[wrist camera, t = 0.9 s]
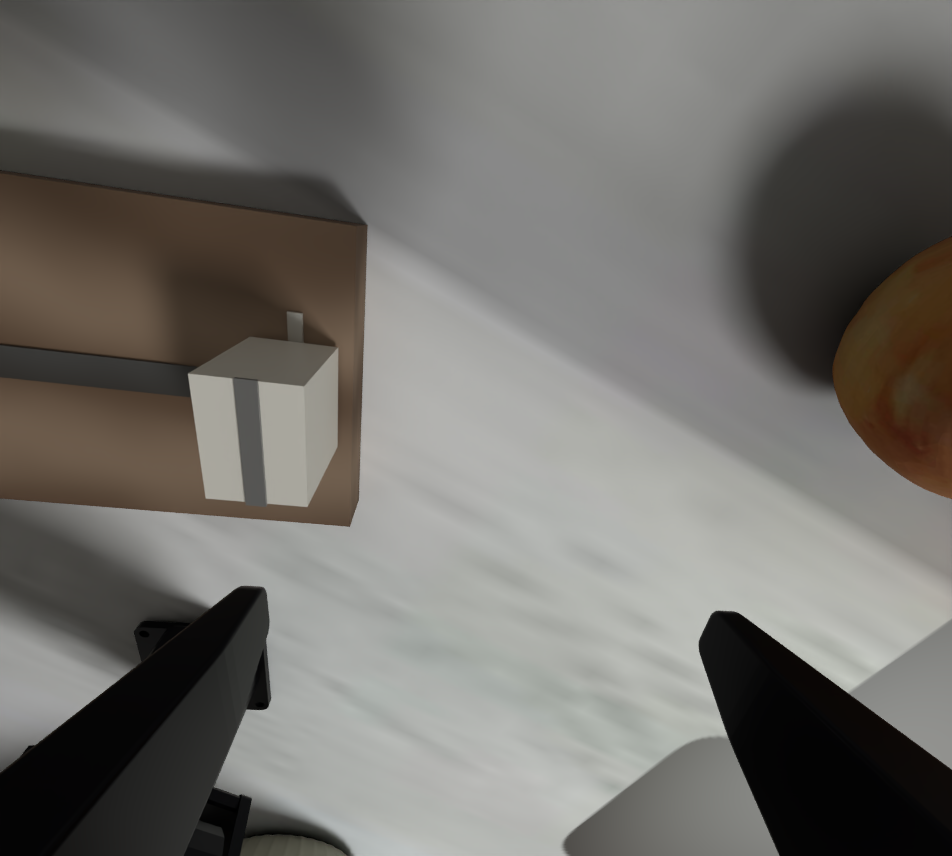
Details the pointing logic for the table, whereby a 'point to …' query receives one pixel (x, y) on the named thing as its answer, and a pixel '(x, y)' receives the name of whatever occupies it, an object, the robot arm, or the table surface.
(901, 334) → the onion
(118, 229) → the board
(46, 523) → the table surface
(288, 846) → the canister
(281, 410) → the fader tab
